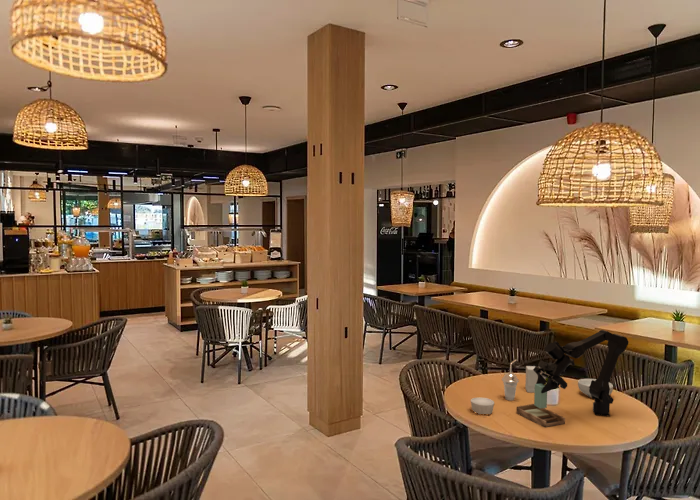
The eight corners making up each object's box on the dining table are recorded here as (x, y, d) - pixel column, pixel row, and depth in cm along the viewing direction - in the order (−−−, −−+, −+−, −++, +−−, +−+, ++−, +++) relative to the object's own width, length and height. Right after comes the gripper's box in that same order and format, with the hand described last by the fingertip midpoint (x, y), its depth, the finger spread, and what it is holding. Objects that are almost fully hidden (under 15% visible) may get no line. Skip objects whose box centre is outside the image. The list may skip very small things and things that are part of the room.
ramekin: (474, 406, 258) (474, 395, 257) (496, 410, 252) (497, 399, 252) (467, 413, 248) (467, 402, 248) (490, 417, 242) (490, 406, 242)
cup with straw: (497, 396, 271) (499, 359, 270) (513, 395, 274) (514, 358, 272) (507, 402, 263) (508, 363, 262) (522, 401, 265) (523, 362, 264)
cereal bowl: (619, 397, 273) (619, 384, 272) (601, 403, 263) (602, 390, 263) (588, 388, 287) (589, 376, 286) (570, 394, 277) (571, 381, 277)
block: (540, 404, 244) (541, 383, 243) (546, 407, 239) (547, 386, 239) (534, 405, 243) (534, 384, 242) (540, 408, 238) (540, 387, 238)
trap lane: (565, 423, 236) (565, 416, 236) (544, 427, 232) (545, 420, 231) (535, 409, 253) (536, 403, 253) (516, 413, 249) (516, 406, 248)
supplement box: (541, 393, 278) (542, 370, 277) (526, 392, 279) (527, 369, 278) (539, 389, 285) (540, 366, 284) (525, 388, 286) (525, 365, 286)
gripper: (537, 349, 250) (516, 373, 247) (562, 360, 232) (540, 386, 229) (550, 364, 252) (530, 388, 250) (577, 376, 234) (555, 402, 232)
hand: (538, 391), depth 240 cm, fingers closed on block, 4 cm apart
